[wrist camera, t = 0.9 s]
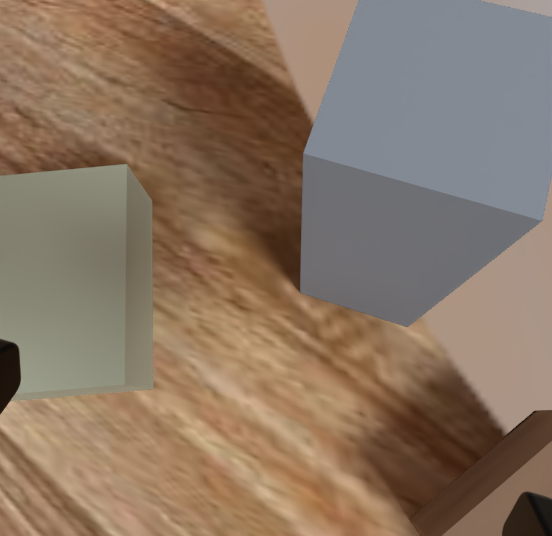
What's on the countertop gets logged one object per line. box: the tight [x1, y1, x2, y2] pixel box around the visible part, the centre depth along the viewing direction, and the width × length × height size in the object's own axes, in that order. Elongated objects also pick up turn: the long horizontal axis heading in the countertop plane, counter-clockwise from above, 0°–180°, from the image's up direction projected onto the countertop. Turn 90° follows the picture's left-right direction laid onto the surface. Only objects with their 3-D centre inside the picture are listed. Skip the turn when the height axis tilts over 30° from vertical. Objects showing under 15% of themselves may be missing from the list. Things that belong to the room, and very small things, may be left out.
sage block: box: [0, 164, 153, 401], centre depth 21 cm, size 9×9×4 cm
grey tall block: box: [300, 0, 552, 327], centre depth 17 cm, size 5×5×12 cm
